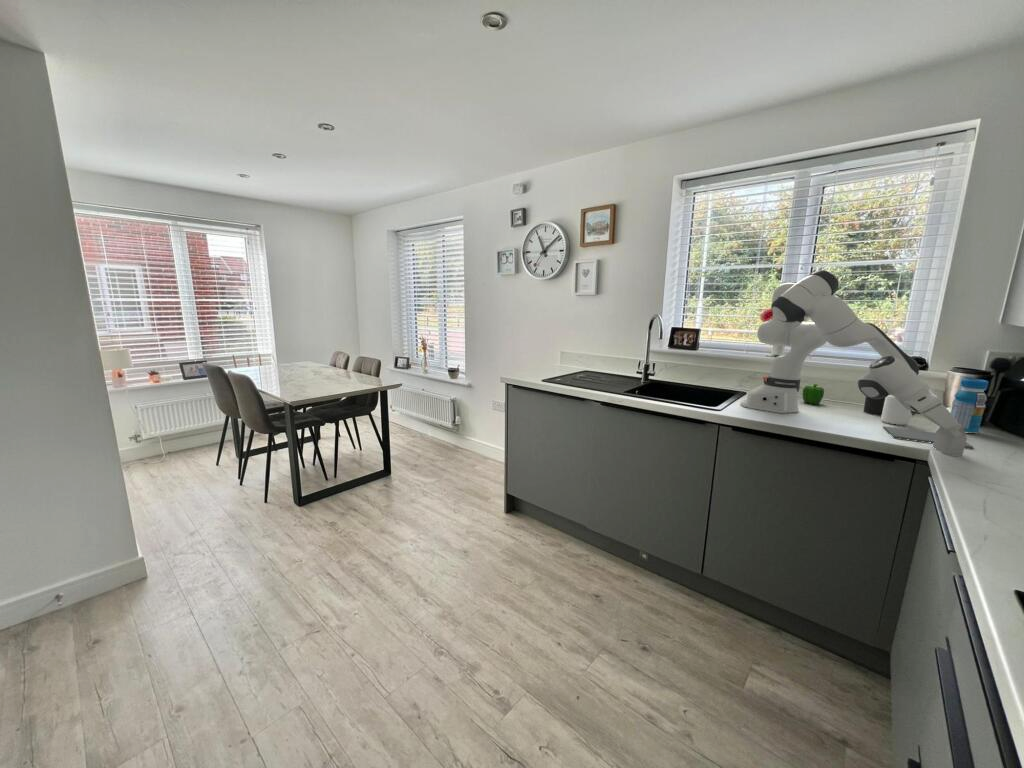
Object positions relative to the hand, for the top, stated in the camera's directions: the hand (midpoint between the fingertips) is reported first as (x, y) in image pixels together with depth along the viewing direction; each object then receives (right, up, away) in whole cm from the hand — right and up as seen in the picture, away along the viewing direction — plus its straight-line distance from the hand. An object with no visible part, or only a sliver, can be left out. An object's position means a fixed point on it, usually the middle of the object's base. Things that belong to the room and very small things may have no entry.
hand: (952, 431), depth 131 cm
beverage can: (+13, -1, +34) cm, 36 cm away
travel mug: (+18, +2, +49) cm, 52 cm away
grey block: (0, -7, +1) cm, 7 cm away
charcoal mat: (+7, -4, +16) cm, 17 cm away
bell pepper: (+2, +6, +65) cm, 65 cm away
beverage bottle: (+31, -3, +25) cm, 40 cm away
